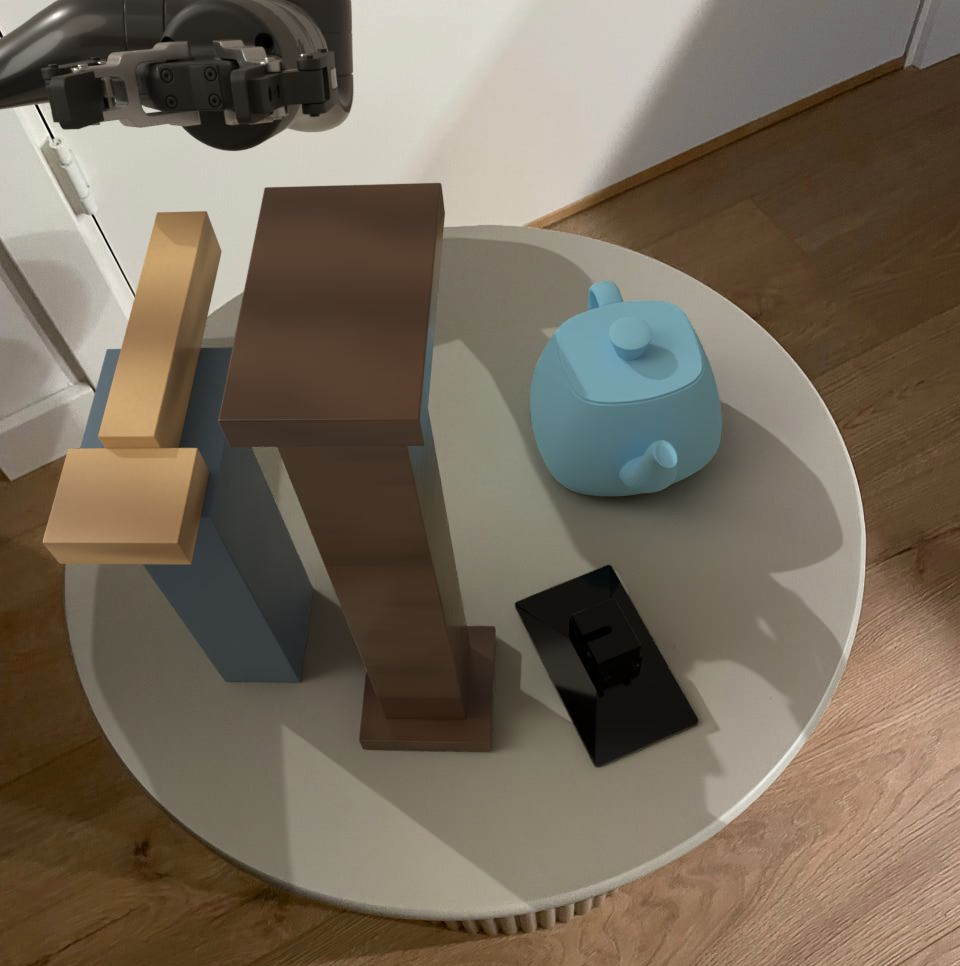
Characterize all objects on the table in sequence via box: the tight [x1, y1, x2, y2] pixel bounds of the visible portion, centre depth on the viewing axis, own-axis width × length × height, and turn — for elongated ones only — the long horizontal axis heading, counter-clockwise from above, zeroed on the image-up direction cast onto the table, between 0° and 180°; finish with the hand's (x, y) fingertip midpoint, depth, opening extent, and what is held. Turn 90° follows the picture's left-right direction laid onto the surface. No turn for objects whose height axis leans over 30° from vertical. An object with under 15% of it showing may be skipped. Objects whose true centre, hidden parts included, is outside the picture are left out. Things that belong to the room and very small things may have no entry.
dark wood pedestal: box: [218, 182, 497, 753], centre depth 52 cm, size 12×8×32 cm
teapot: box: [529, 280, 723, 497], centre depth 68 cm, size 13×11×18 cm
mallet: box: [42, 210, 223, 565], centre depth 49 cm, size 19×6×3 cm, turn 177°
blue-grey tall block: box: [79, 346, 314, 683], centre depth 58 cm, size 10×7×22 cm
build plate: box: [514, 564, 699, 768], centre depth 63 cm, size 12×7×5 cm, turn 23°
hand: (149, 101), depth 48 cm, fingers open, 8 cm apart
